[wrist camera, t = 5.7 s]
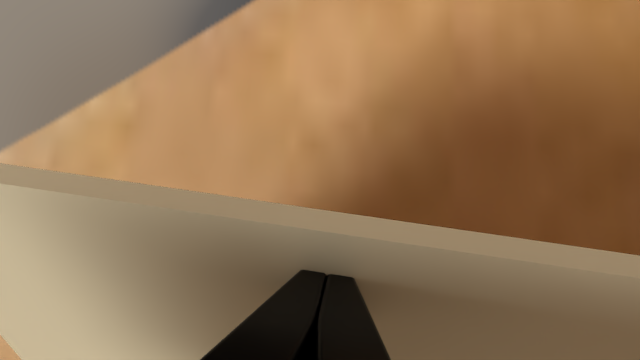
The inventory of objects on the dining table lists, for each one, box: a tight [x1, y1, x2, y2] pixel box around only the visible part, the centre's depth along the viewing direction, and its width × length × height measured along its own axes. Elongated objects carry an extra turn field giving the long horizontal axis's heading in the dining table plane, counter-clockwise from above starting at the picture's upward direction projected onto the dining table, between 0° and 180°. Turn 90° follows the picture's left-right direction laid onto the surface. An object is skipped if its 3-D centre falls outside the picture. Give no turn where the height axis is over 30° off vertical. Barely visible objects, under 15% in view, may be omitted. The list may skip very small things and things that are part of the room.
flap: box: [0, 163, 640, 360], centre depth 10 cm, size 1×15×8 cm
